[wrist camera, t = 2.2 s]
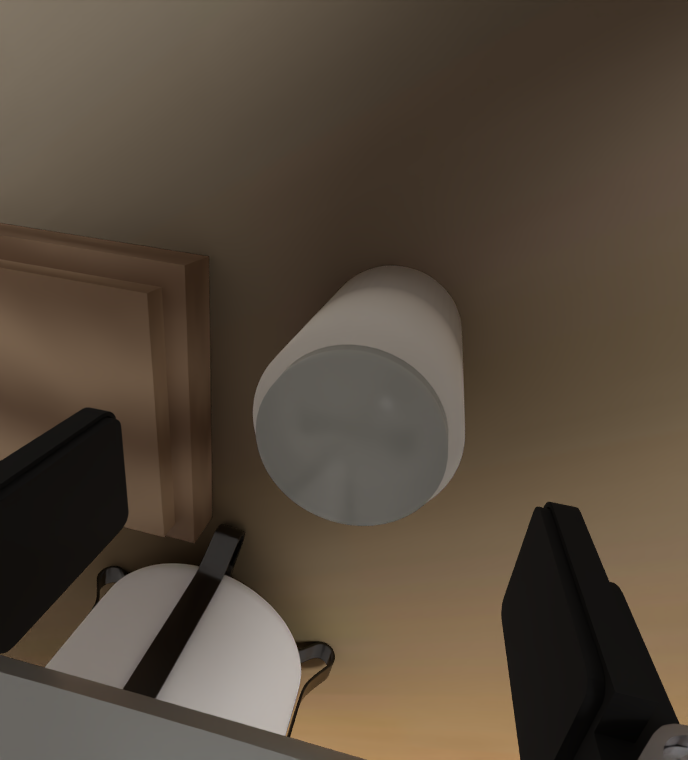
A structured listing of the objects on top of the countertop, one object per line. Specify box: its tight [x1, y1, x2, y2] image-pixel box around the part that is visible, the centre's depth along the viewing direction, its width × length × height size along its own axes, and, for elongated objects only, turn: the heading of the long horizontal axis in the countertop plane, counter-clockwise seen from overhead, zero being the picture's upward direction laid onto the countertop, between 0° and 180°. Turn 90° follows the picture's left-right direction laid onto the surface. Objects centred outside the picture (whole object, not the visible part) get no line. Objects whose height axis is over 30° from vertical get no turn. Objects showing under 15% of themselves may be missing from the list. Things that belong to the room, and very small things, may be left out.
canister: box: [253, 265, 465, 526], centre depth 16 cm, size 6×6×9 cm
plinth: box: [0, 223, 212, 543], centre depth 22 cm, size 14×14×3 cm
